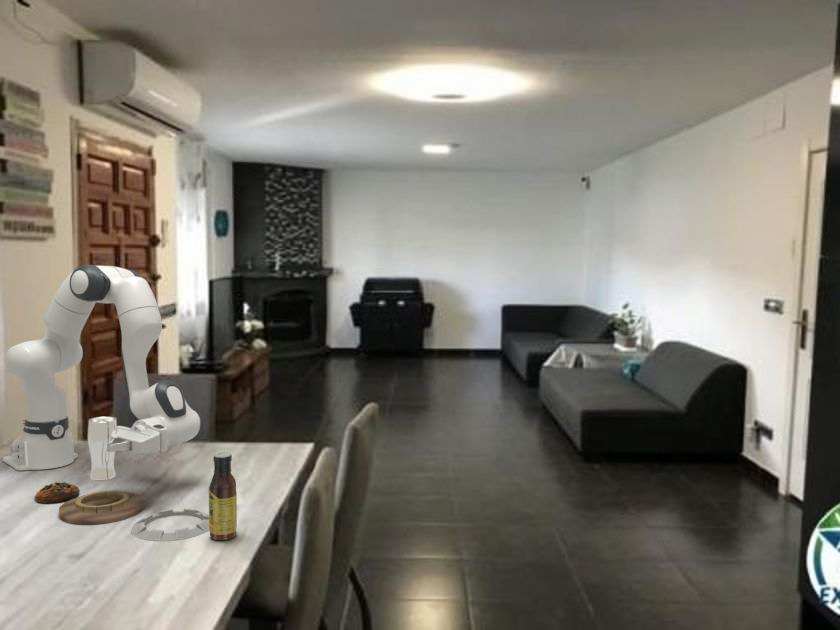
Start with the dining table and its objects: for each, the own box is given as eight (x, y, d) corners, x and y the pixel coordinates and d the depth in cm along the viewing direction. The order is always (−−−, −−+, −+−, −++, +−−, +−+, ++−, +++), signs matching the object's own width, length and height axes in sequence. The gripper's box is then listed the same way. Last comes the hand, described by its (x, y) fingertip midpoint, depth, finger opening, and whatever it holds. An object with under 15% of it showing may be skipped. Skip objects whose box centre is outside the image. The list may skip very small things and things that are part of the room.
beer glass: (106, 482, 178) (106, 423, 177) (81, 479, 179) (81, 421, 178) (123, 474, 185) (123, 417, 184) (99, 472, 186) (99, 415, 185)
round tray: (42, 513, 180) (42, 501, 179) (114, 492, 196) (114, 481, 196) (89, 531, 169) (88, 518, 168) (160, 507, 185) (160, 496, 185)
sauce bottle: (212, 531, 170) (211, 449, 168) (238, 531, 170) (238, 449, 169) (206, 542, 163) (205, 457, 162) (234, 542, 164) (233, 457, 162)
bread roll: (61, 505, 185) (59, 486, 185) (25, 507, 187) (22, 488, 187) (89, 493, 196) (87, 475, 196) (54, 495, 198) (52, 478, 198)
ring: (219, 511, 185) (219, 504, 184) (210, 541, 166) (210, 532, 165) (140, 514, 181) (140, 507, 181) (122, 545, 162) (122, 536, 162)
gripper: (122, 418, 198) (75, 427, 186) (170, 429, 187) (123, 440, 175) (123, 440, 198) (76, 451, 187) (170, 452, 187) (124, 465, 176)
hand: (99, 446), depth 181 cm, fingers closed on beer glass, 6 cm apart
